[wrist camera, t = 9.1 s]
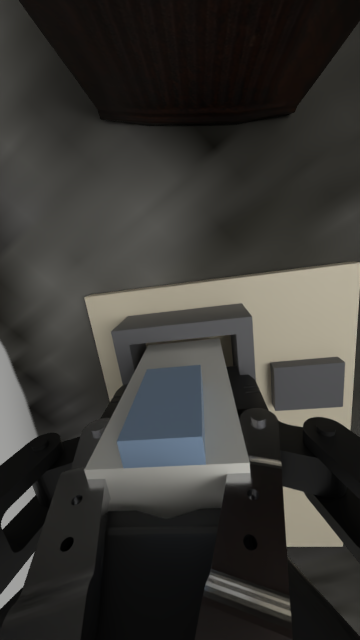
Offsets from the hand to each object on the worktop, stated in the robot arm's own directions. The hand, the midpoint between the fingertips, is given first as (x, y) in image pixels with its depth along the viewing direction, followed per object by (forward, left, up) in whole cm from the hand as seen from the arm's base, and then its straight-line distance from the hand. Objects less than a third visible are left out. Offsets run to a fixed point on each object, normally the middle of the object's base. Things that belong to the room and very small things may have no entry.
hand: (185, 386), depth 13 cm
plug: (0, 0, -1) cm, 1 cm away
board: (-2, +6, -4) cm, 8 cm away
